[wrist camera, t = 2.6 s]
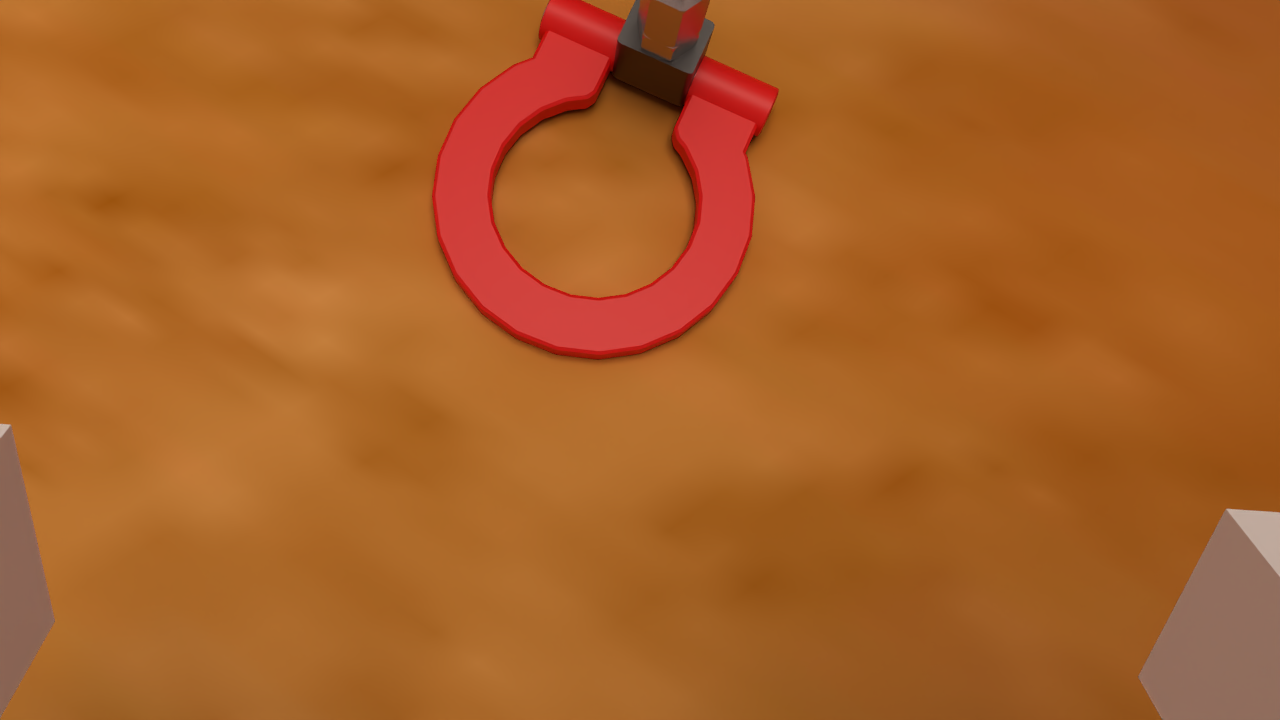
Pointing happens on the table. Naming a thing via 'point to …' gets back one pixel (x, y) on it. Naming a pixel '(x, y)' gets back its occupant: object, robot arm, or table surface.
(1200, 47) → the table surface
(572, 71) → the tow hook
